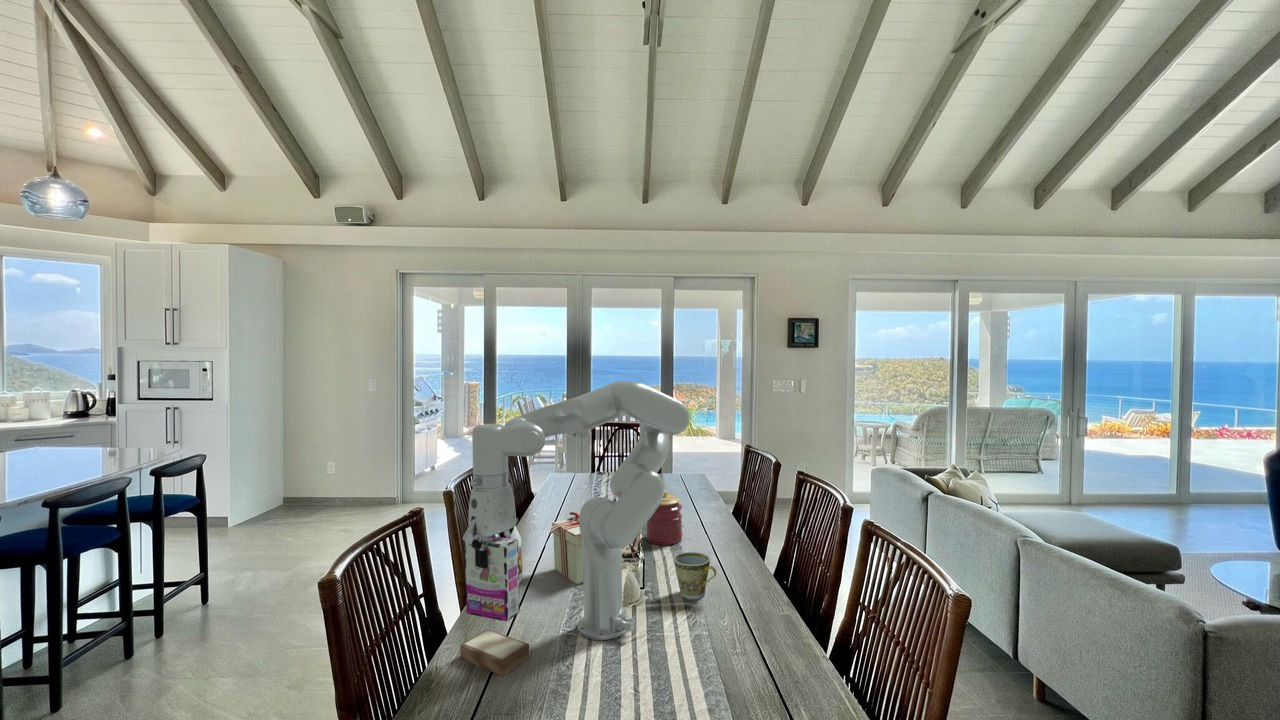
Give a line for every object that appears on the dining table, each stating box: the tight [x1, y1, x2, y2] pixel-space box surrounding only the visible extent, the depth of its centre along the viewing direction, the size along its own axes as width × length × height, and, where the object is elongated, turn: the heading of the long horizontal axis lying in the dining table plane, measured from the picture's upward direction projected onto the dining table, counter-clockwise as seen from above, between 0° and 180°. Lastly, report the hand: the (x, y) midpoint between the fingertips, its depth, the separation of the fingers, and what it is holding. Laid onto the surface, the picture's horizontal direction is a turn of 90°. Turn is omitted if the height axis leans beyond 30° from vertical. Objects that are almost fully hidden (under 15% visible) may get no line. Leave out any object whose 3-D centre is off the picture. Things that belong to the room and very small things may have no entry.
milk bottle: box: [496, 513, 523, 584], centre depth 163 cm, size 8×8×20 cm
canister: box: [645, 489, 683, 546], centre depth 197 cm, size 13×13×18 cm
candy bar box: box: [464, 536, 521, 622], centre depth 122 cm, size 11×5×16 cm, turn 68°
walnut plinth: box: [459, 628, 530, 677], centre depth 122 cm, size 13×8×3 cm, turn 58°
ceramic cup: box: [673, 551, 717, 600], centre depth 151 cm, size 13×10×10 cm
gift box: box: [549, 511, 583, 585], centre depth 168 cm, size 17×18×17 cm
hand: (492, 561), depth 122 cm, fingers closed on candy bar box, 5 cm apart
